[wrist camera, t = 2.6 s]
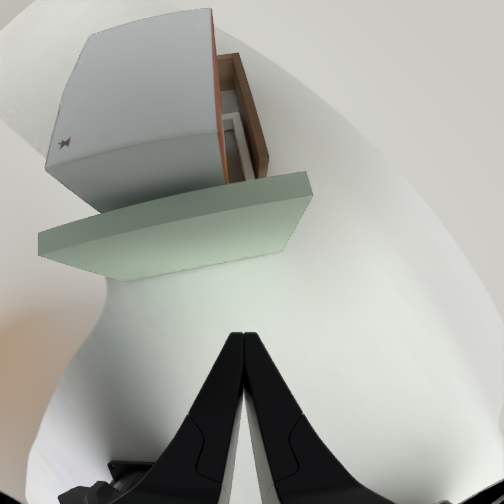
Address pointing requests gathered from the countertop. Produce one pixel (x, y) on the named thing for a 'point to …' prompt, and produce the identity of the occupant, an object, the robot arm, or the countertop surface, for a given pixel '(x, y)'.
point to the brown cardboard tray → (244, 109)
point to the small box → (142, 114)
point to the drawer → (186, 225)
